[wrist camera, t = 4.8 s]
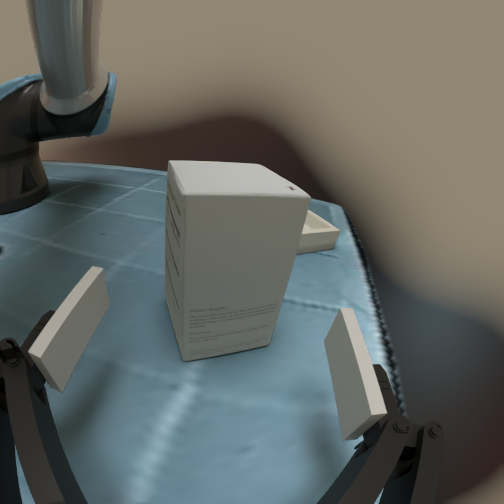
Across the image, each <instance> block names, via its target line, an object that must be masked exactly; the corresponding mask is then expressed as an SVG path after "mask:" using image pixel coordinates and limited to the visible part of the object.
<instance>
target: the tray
mask: <svg viewBox="0 0 504 504" xmlns="http://www.w3.org/2000/svg"><path fill="white" fill-rule="evenodd" d="M339 232H340V230H338V229H337V228H335V227H334V226H333V225H331V224H330V223H328V222H327V221H325V220H324V219H322V218H321V217H319V216H318V215H316V214H314V213H313V212H311V211H310V210H308V212H307V216H306V220H305V223H304V227H303V231H302V235H301V238H300V242H299V246H298V249H297V253H296V254H302V253H309V252H315V251H322V250H329V249H334V247H335V244H336V241H337V238H338V235H339Z"/></svg>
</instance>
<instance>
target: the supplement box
mask: <svg viewBox="0 0 504 504" xmlns="http://www.w3.org/2000/svg"><path fill="white" fill-rule="evenodd" d="M310 200H311V197H310V196H309V195H308V194H307V193H305V192H304V191H303V190H301V189H300V188H299V187H297V186H296V185H294V184H292V183H291V182H289V181H287V180H286V179H284V178H282V177H280V176H279V175H277V174H276V173H274V172H272V171H270V170H269V169H267V168H265V167H263V166H262V165H259V164H247V163H246V164H245V163H229V162H208V161H207V162H206V161H169V163H168V173H167V192H166V220H165V296H166V301H167V305H168V309H169V313H170V317H171V321H172V325H173V328H174V332H175V336H176V339H177V343H178V346H179V350H180V353H181V356H182V359H183V361H190V360H196V359H202V358H208V357H213V356H218V355H224V354H229V353H234V352H239V351H243V350H248V349H253V348H257V347H262V346H266V345H269V343H270V340H271V337H272V334H273V331H274V327H275V324H276V321H277V318H278V314H279V311H280V308H281V304H282V301H283V298H284V295H285V291H286V288H287V284H288V281H289V278H290V274H291V271H292V267H293V263H294V260H295V256H296V253H297V249H298V246H299V242H300V238H301V235H302V231H303V227H304V223H305V220H306V216H307V212H308V208H309V204H310Z"/></svg>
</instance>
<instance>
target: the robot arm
mask: <svg viewBox="0 0 504 504" xmlns="http://www.w3.org/2000/svg"><path fill="white" fill-rule="evenodd" d="M102 1H103V0H26V6H27V13H28V19H29V24H30V29H31V34H32V38H33V43H34V47H35V51H36V55H37V59H38V63H39V66H40V69H41V73H42V74H30V75H27V76H22V77H18V78H16V79H13V80H10V81H8V82H5V83H3V84H2V85H0V214H4V213H9V212H13V211H17V210H20V209H23V208H25V207H28V206H30V205H32V204H35V203H36V202H38V201H40V200H42V199H43V198H44V197H45V196H46V195H47V194H48V193H49V185H48V179H47V176H46V173H45V171H44V168H43V165H42V162H41V159H40V156H39V142H40V141H46V140H53V139H62V138H71V137H81V136H86V137H90V136H92V135H100V134H103V133H104V132H105V131H106V130H107V128H108V126H109V121H110V116H111V109H112V105H113V101H114V95H115V89H116V83H117V76H116V74H114V73H110V72H107V69H106V67H105V65H104V64H103V63H102V62H101V61H100V60H99V34H100V19H101V10H102ZM109 307H110V304H109V299H108V293H107V288H106V282H105V276H104V270H103V268H99V267H94V266H92V267H91V268H90V269H89V270H88V272H87V273H86V274H85V275H84V276H83V278H82V279H81V280H80V281H79V282H78V284H77V285H76V286H75V287H74V289H73V290H72V291H71V292H70V294H69V295H68V296H67V298H66V299H65V300H64V301H63V303H62V304H61V305H60V307H59V308H58V309H57V311H56V312H55V311H52V310H50V311H49V312H47V313H46V314H44V315H43V316H42V318H41V319H40V320H39V322H38V324H36V326H35V327H34V330H32V331H31V333H30V334H29V336H28V337H27V339H26V340H25V341H24V343H23V344H22V346H21V347H19V346H18V344H17V342H16V341H15V340H14V339H12V338H5V339H3V340H1V341H0V504H22V499H21V494H20V489H19V482H18V476H17V467H16V457H15V445H16V449H17V453H18V456H19V460H20V463H21V466H22V469H23V472H24V475H25V478H26V481H27V484H28V487H29V489H30V492H31V494H32V497H33V499H34V501H35V504H88V503H87V501H86V499H85V497H84V495H83V493H82V492H81V490H80V487H79V485H78V483H77V481H76V479H75V477H74V475H73V472H72V470H71V468H70V465H69V463H68V460H67V458H66V455H65V453H64V450H63V447H62V445H61V442H60V439H59V436H58V433H57V430H56V427H55V424H54V420H53V417H52V413H51V410H50V406H49V402H48V398H47V394H46V389H45V387H44V384H45V382H47V383H48V384H49V386H50V387H51V388H53V389H55V390H57V391H59V392H61V393H62V392H63V390H64V388H65V386H66V384H67V382H68V380H69V378H70V376H71V374H72V372H73V370H74V368H75V366H76V364H77V363H78V361H79V359H80V357H81V355H82V353H83V351H84V350H85V348H86V346H87V344H88V342H89V341H90V339H91V337H92V335H93V334H94V332H95V330H96V328H97V327H98V325H99V323H100V322H101V320H102V318H103V316H104V315H105V313H106V312H107V310H108V308H109ZM324 344H325V349H326V353H327V358H328V363H329V368H330V373H331V378H332V383H333V388H334V394H335V399H336V405H337V410H338V416H339V422H340V428H341V434H342V441H344V440H355V439H358V438H359V437H360V436H361V435H363V438H364V440H363V441H362V442H360V443H359V444H358V445H357V446H356V447H355V448H354V449H357V448H358V449H357V450H356V452H355V453H354V455H353V456H352V458H351V459H350V461H349V462H348V464H347V465H346V466H345V468H344V469H343V471H342V472H341V473H340V475H339V476H338V478H337V479H336V480H335V482H334V483H333V484H332V486H331V487H330V488H329V489H328V491H327V492H326V493H325V494H324V496H323V497H322V498H321V499H320V500H319V502H318V503H317V504H374V502H375V501H376V499H377V498H378V496H379V494H380V493H381V491H382V489H383V487H384V489H383V492H382V495H381V499H380V502H379V504H434V500H435V496H436V491H437V486H438V479H439V473H440V467H441V459H442V450H443V439H444V431H443V428H442V426H441V425H440V424H439V423H438V422H436V421H430V422H428V423H426V424H425V425H424V426H422V425H416V424H411V423H410V422H409V421H408V419H407V418H405V417H404V416H401V415H400V413H399V410H398V407H397V404H396V401H395V398H394V395H393V391H392V389H391V385H390V382H389V379H388V377H387V374H386V372H385V370H384V369H383V368H382V366H381V365H380V364H372V362H371V359H370V356H369V353H368V350H367V347H366V344H365V341H364V339H363V336H362V333H361V330H360V327H359V325H358V322H357V319H356V317H355V314H354V311H353V309H349V308H340V309H339V312H338V314H337V316H336V318H335V320H334V322H333V324H332V326H331V328H330V330H329V332H328V334H327V336H326V338H325V340H324ZM14 441H15V442H14Z"/></svg>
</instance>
